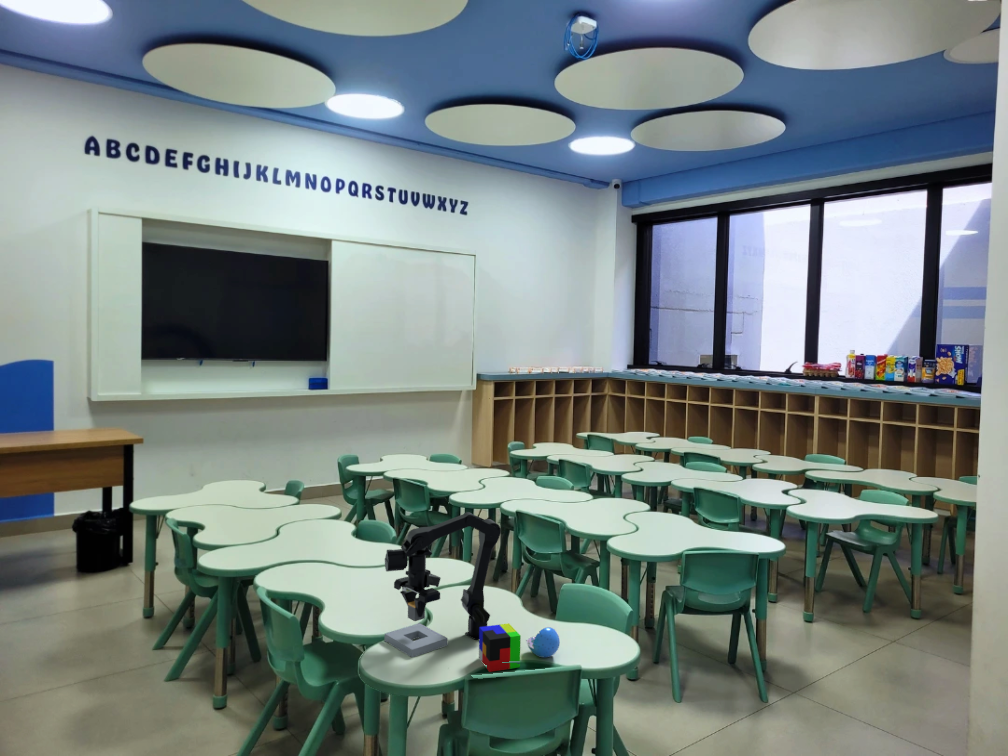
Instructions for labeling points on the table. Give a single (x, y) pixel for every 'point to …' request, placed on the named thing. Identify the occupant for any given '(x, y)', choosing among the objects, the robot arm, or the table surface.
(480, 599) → the robot arm
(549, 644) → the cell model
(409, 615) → the orange-topped grey block
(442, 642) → the plate
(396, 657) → the table surface
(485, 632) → the puzzle toy
